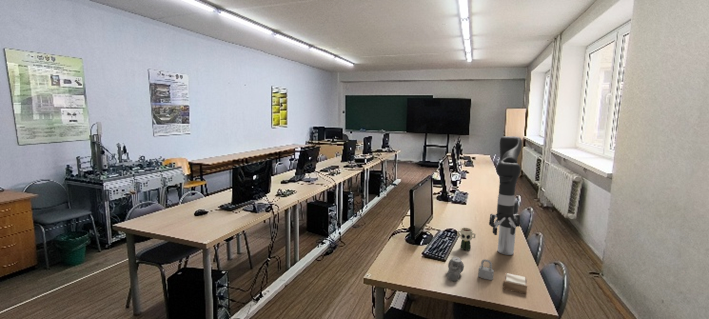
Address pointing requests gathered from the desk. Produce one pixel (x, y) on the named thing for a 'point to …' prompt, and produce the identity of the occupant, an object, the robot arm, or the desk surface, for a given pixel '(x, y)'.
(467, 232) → the character mug
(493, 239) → the desk surface
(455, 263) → the pipe fitting
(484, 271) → the padlock
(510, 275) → the base
